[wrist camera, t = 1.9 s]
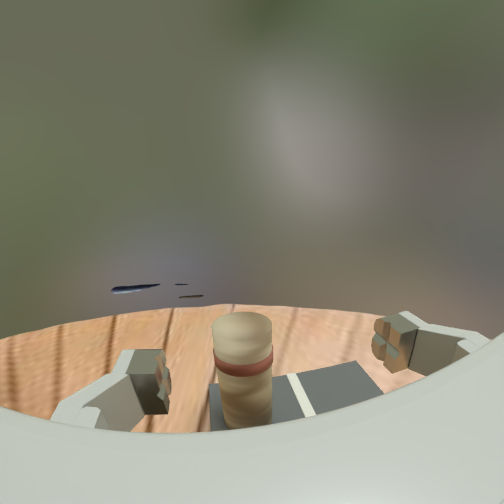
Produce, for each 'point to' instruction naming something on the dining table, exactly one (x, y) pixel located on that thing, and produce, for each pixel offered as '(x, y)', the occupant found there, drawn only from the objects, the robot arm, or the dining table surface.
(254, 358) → the skittle
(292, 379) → the lane mat
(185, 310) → the dining table surface
